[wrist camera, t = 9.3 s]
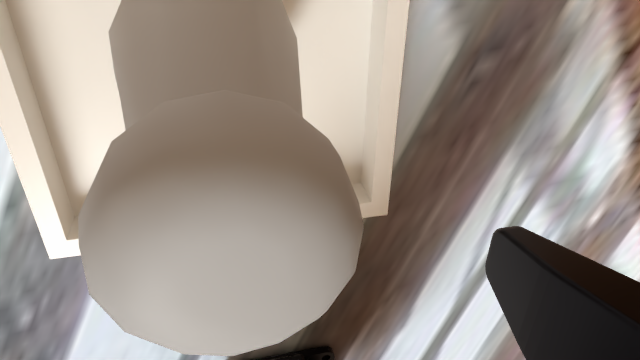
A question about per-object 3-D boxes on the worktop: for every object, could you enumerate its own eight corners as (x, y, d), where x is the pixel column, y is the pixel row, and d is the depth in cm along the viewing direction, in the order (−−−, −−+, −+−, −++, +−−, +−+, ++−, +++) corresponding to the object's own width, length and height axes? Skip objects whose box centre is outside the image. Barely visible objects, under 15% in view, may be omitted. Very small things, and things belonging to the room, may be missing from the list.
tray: (372, 188, 24) (387, 214, 22) (62, 225, 21) (50, 259, 19) (406, -242, 15) (436, -258, 13) (-109, -274, 12) (-160, -300, 11)
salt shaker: (240, 131, 20) (302, 435, 9) (95, 70, 17) (-58, 389, 7) (312, 0, 18) (503, 193, 7) (159, -92, 15) (90, -12, 4)
